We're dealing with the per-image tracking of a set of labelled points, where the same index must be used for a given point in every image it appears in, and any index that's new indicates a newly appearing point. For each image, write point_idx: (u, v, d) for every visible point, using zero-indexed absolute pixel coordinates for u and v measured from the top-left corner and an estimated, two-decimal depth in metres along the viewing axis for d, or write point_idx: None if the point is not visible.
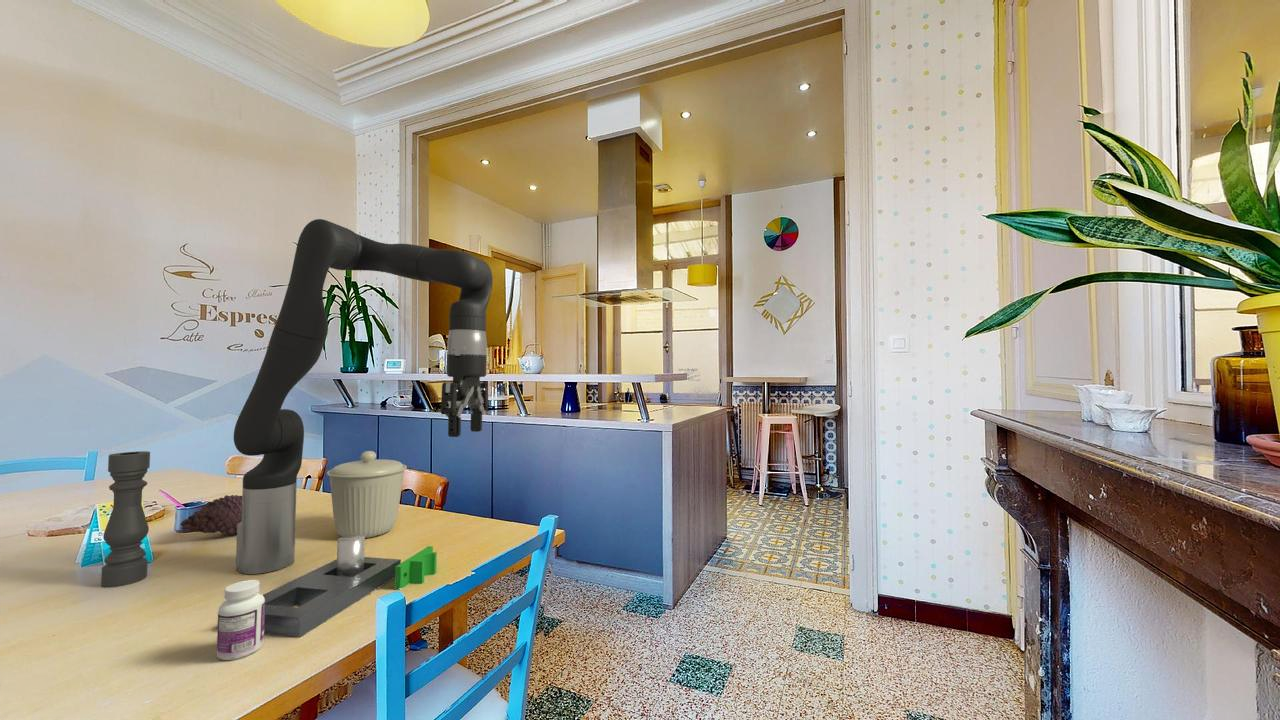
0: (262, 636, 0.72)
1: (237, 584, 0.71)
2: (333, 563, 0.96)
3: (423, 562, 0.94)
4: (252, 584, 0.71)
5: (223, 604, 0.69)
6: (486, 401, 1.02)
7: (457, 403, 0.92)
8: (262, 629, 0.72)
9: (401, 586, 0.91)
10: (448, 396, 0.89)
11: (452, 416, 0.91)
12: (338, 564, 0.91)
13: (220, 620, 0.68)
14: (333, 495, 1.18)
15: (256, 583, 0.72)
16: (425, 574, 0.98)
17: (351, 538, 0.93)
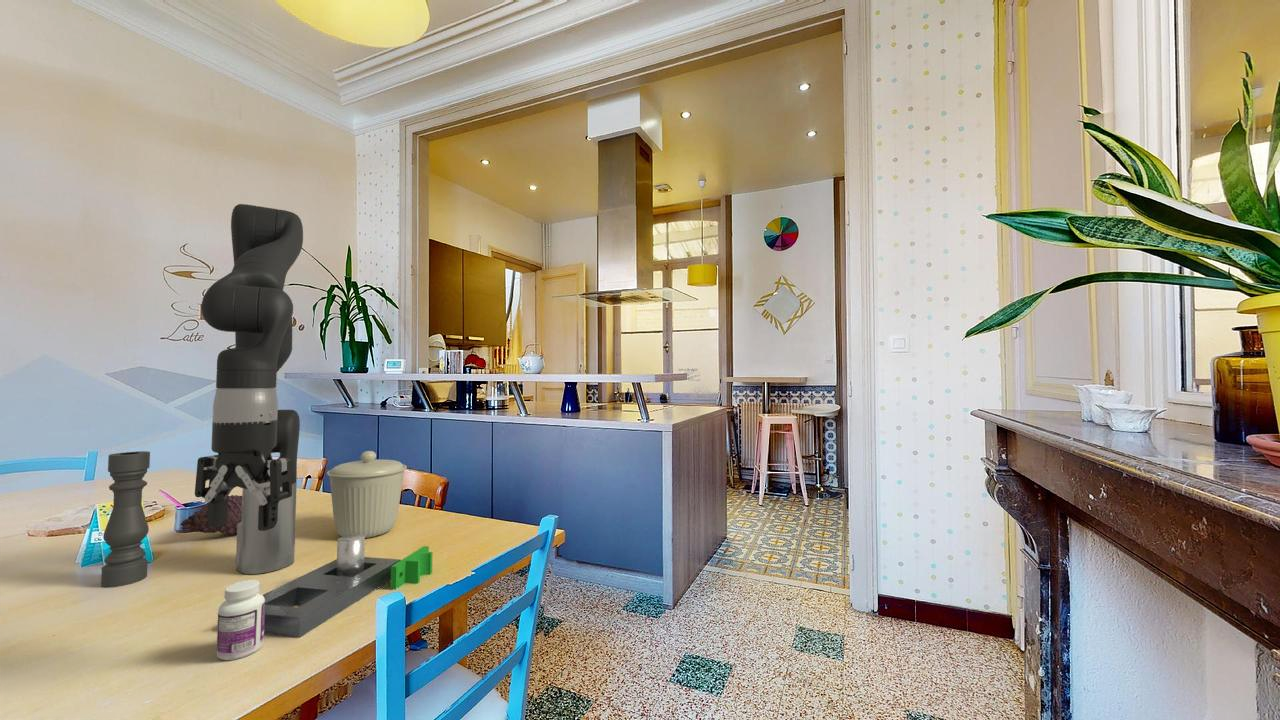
0: (262, 636, 0.72)
1: (237, 584, 0.71)
2: (333, 563, 0.96)
3: (419, 561, 0.94)
4: (252, 584, 0.71)
5: (223, 604, 0.69)
6: None
7: (269, 485, 0.71)
8: (262, 629, 0.72)
9: (396, 586, 0.92)
10: (285, 476, 0.70)
11: (277, 501, 0.71)
12: (338, 564, 0.91)
13: (220, 620, 0.68)
14: (333, 495, 1.18)
15: (256, 583, 0.72)
16: (421, 574, 0.98)
17: (351, 538, 0.93)
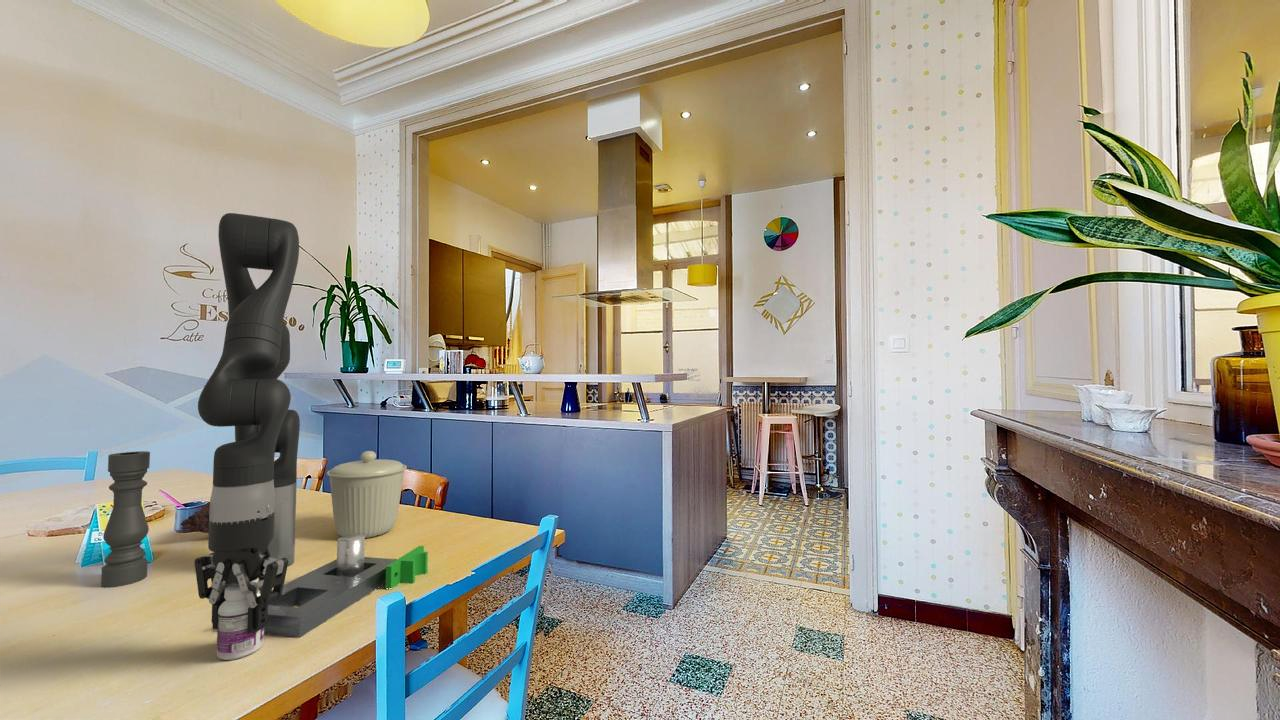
0: (262, 636, 0.72)
1: (236, 584, 0.71)
2: (333, 563, 0.96)
3: (414, 561, 0.94)
4: (252, 584, 0.71)
5: (223, 604, 0.69)
6: None
7: (261, 584, 0.71)
8: (262, 629, 0.72)
9: (391, 586, 0.92)
10: (279, 578, 0.70)
11: (267, 602, 0.70)
12: (338, 564, 0.91)
13: (220, 620, 0.68)
14: (333, 495, 1.18)
15: None
16: (416, 574, 0.98)
17: (351, 538, 0.93)
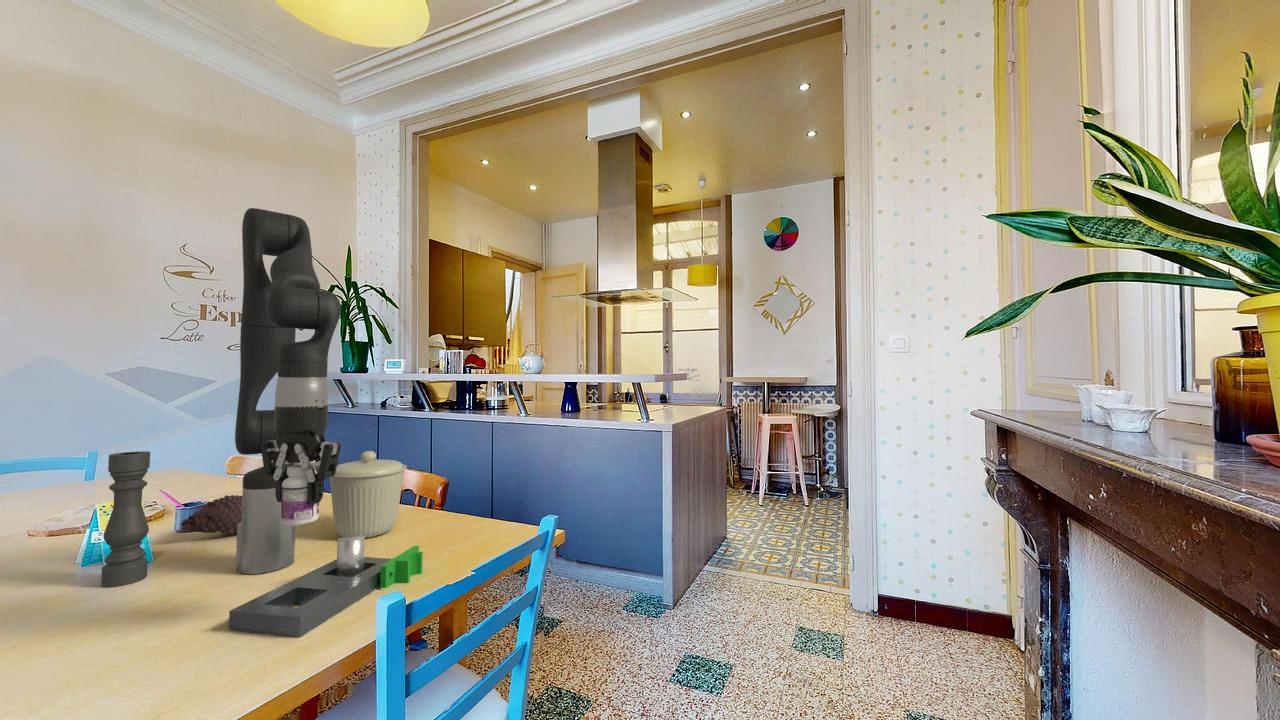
0: (318, 510, 0.83)
1: (296, 465, 0.83)
2: (333, 563, 0.96)
3: (409, 561, 0.95)
4: None
5: (286, 479, 0.81)
6: None
7: (318, 464, 0.82)
8: (318, 504, 0.83)
9: (386, 586, 0.92)
10: (334, 459, 0.81)
11: (323, 479, 0.82)
12: (338, 564, 0.91)
13: (284, 491, 0.80)
14: (333, 495, 1.18)
15: None
16: (411, 573, 0.98)
17: (351, 538, 0.93)
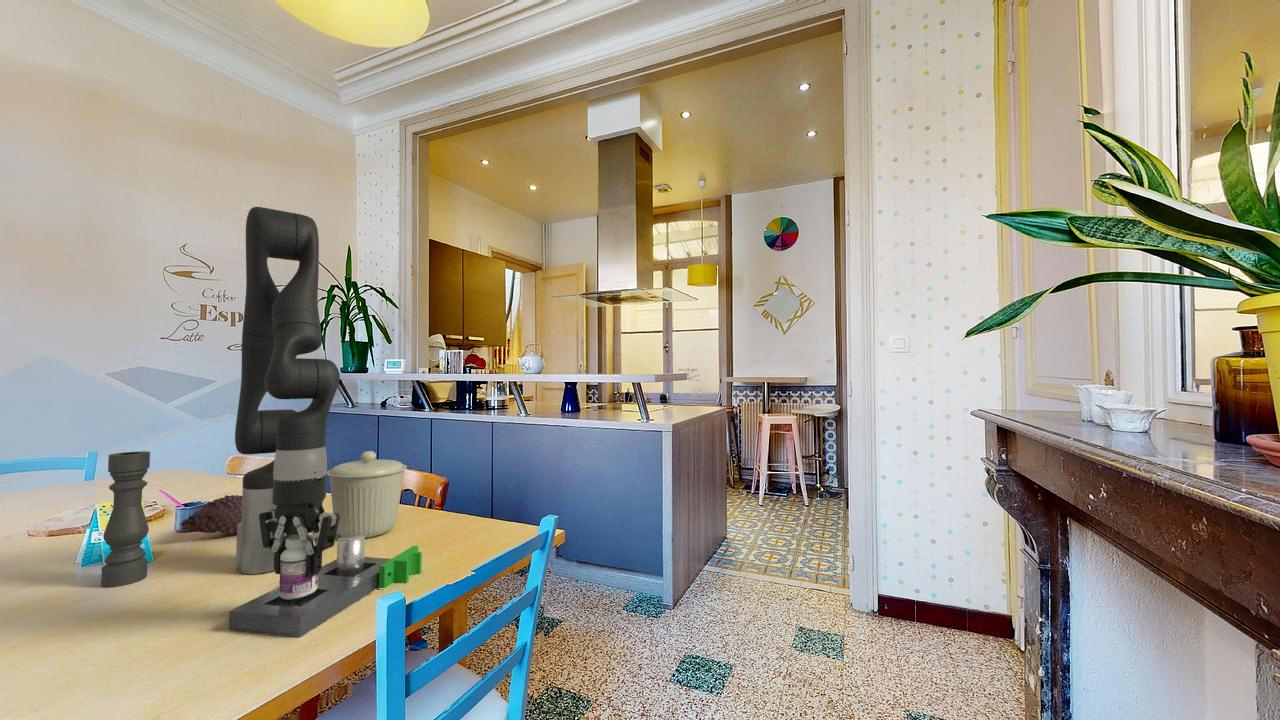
0: (316, 581, 0.83)
1: (295, 536, 0.82)
2: (333, 563, 0.96)
3: (407, 561, 0.94)
4: None
5: (284, 552, 0.81)
6: None
7: (317, 536, 0.82)
8: (316, 575, 0.83)
9: (385, 586, 0.92)
10: (332, 530, 0.81)
11: (321, 551, 0.81)
12: (338, 564, 0.91)
13: (282, 565, 0.80)
14: (333, 495, 1.18)
15: None
16: (410, 573, 0.98)
17: (351, 538, 0.93)
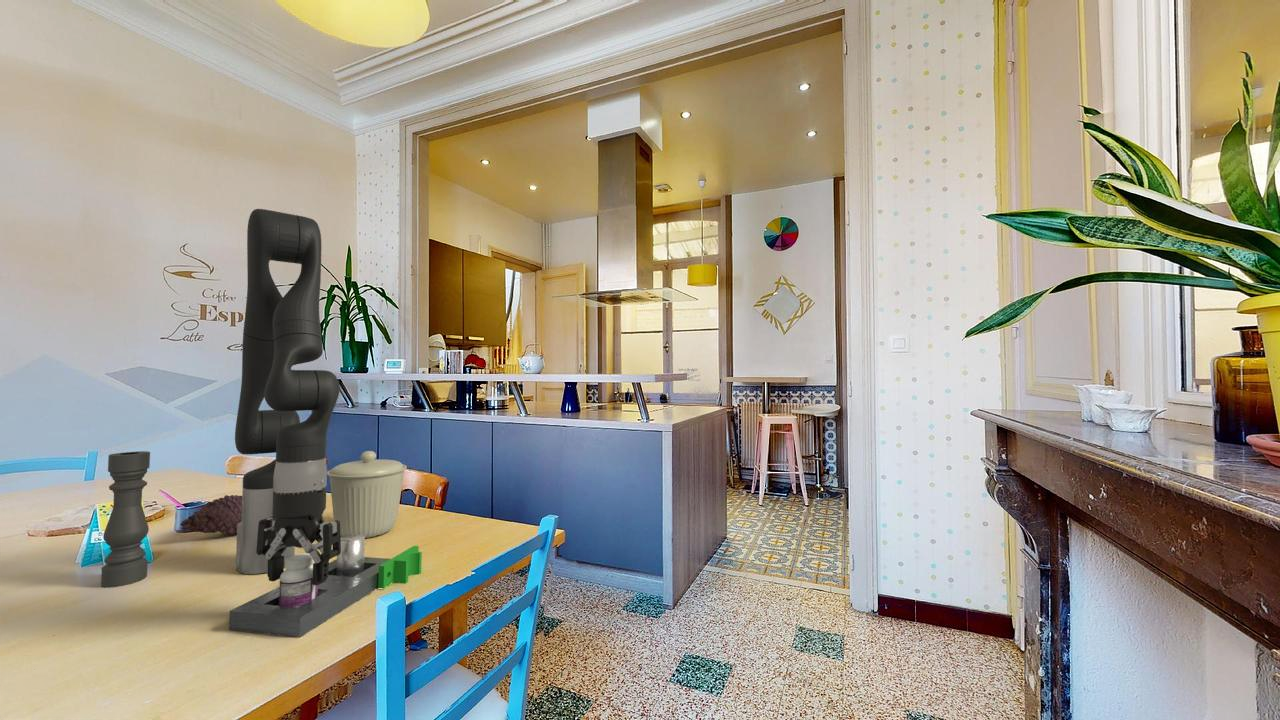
0: None
1: (294, 556, 0.82)
2: (333, 563, 0.96)
3: (407, 561, 0.94)
4: (308, 556, 0.82)
5: (284, 573, 0.80)
6: None
7: (321, 544, 0.82)
8: (316, 595, 0.83)
9: (384, 586, 0.92)
10: (335, 537, 0.81)
11: (328, 559, 0.81)
12: (338, 564, 0.91)
13: (282, 586, 0.80)
14: (333, 495, 1.18)
15: None
16: (410, 573, 0.98)
17: (351, 538, 0.93)
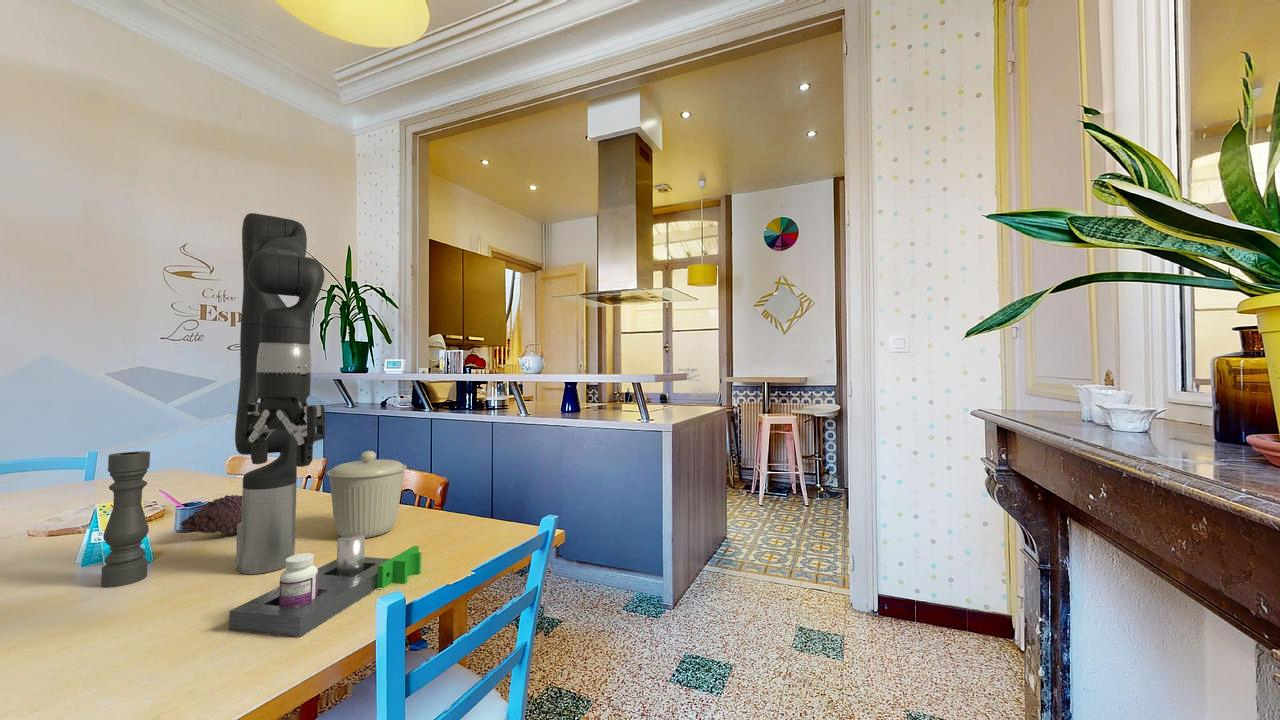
0: None
1: (294, 556, 0.82)
2: (333, 563, 0.96)
3: (406, 561, 0.94)
4: (308, 556, 0.82)
5: (284, 573, 0.80)
6: None
7: (305, 428, 0.82)
8: (316, 595, 0.83)
9: (383, 586, 0.92)
10: (320, 420, 0.81)
11: (312, 442, 0.81)
12: (338, 564, 0.91)
13: (282, 586, 0.80)
14: (333, 495, 1.18)
15: (311, 555, 0.83)
16: (409, 574, 0.98)
17: (351, 538, 0.93)
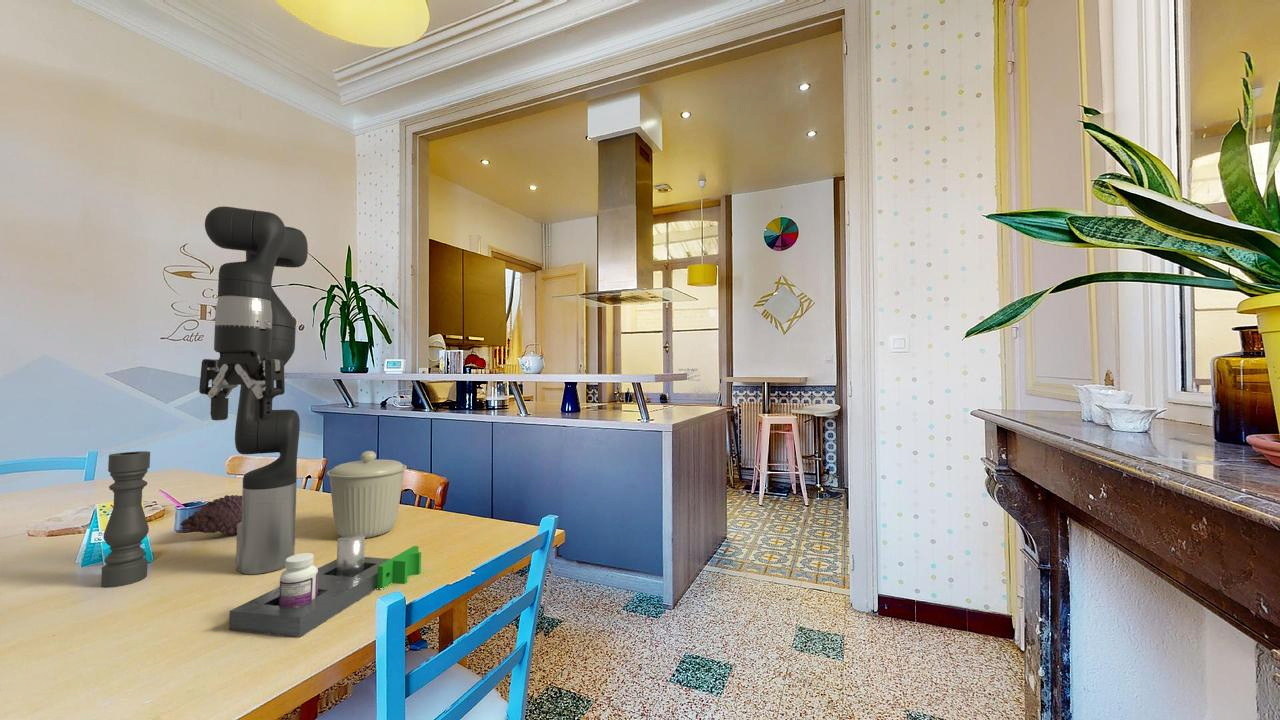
0: None
1: (294, 556, 0.82)
2: (333, 563, 0.96)
3: (406, 561, 0.94)
4: (308, 556, 0.82)
5: (284, 572, 0.80)
6: None
7: (264, 383, 0.81)
8: (316, 595, 0.83)
9: (383, 586, 0.92)
10: (279, 374, 0.80)
11: (271, 397, 0.81)
12: (338, 564, 0.91)
13: (282, 586, 0.80)
14: (333, 495, 1.18)
15: (311, 555, 0.83)
16: (409, 574, 0.98)
17: (351, 538, 0.93)
